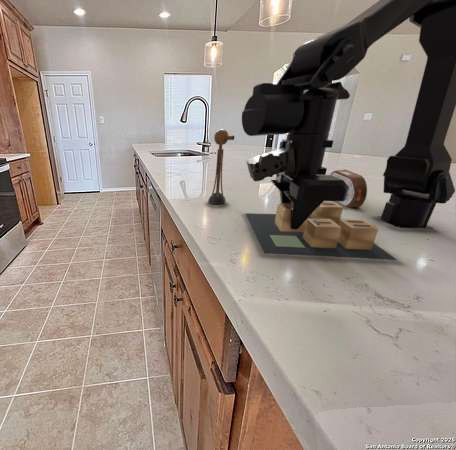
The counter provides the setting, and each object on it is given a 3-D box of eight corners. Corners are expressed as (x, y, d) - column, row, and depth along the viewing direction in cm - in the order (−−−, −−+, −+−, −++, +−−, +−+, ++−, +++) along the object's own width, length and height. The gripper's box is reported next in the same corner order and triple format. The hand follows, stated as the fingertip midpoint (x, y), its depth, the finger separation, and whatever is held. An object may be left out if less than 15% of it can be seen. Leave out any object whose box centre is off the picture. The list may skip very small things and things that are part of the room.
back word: (329, 218, 55) (333, 201, 54) (338, 225, 52) (343, 206, 50) (284, 217, 57) (287, 200, 55) (290, 223, 53) (293, 205, 52)
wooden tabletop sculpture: (231, 205, 68) (239, 128, 60) (221, 209, 65) (227, 129, 57) (214, 201, 72) (219, 128, 64) (204, 204, 69) (208, 129, 62)
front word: (357, 239, 45) (364, 219, 44) (371, 250, 42) (379, 228, 40) (302, 237, 47) (306, 217, 45) (311, 247, 43) (316, 226, 42)
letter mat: (334, 217, 57) (334, 215, 57) (396, 263, 39) (397, 259, 39) (245, 215, 60) (245, 212, 60) (264, 256, 42) (264, 252, 42)
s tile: (296, 223, 46) (301, 202, 44) (305, 232, 42) (310, 210, 41) (274, 222, 47) (277, 202, 45) (280, 231, 43) (284, 209, 41)
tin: (362, 212, 60) (373, 178, 56) (348, 211, 60) (357, 178, 57) (334, 195, 73) (341, 167, 70) (322, 195, 74) (329, 167, 70)
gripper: (244, 132, 48) (237, 207, 54) (268, 138, 31) (253, 246, 37) (305, 130, 46) (290, 208, 52) (366, 135, 29) (333, 249, 35)
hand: (289, 224), depth 44 cm, fingers closed on s tile, 4 cm apart
